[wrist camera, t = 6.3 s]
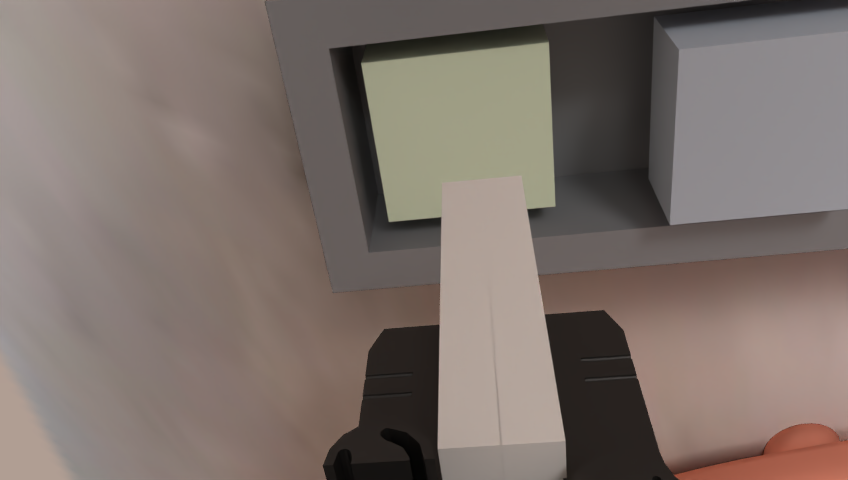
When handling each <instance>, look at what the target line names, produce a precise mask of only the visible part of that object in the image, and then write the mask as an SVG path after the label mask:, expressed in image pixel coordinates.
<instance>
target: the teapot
mask: <svg viewBox="0 0 848 480" xmlns="http://www.w3.org/2000/svg"><path fill="white" fill-rule="evenodd" d="M674 476H675V477H676V478H678V479H679V480H848V440H847V441H840V439H839V436H838V435H837V434H836V432H835V431H833V430H832V429H831V428H829V427H827V426H824V425H820V424H812V423H811V424H800V425H795V426H792V427H789V428H786V429H784V430H782V431H780V432H779V433H777V434H776V435H775V436H773V437H772V438H771V439H770V440H769V442H768V443H767V444H766V446H765V448H764V453H763V455H761V456H756V457H750V458H745V459H740V460H735V461H730V462H726V463H721V464H717V465H712V466H708V467H704V468H700V469H696V470H692V471H687V472H684V473H680V474H676V475H674Z"/></svg>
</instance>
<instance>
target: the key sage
mask: <svg viewBox="0 0 848 480" xmlns="http://www.w3.org/2000/svg"><path fill="white" fill-rule="evenodd" d="M361 65H362V71H363V77H364V83H365V88H366V94H367V100H368V105H369V111H370V117H371V123H372V128H373V134H374V140H375V145H376V151H377V157H378V163H379V168H380V174H381V180H382V185H383V191H384V197H385V203H386V208H387V214H388V220H389V222H395V221H405V220H416V219H427V218H438V217H442V183H445V182H456V181H467V180H477V179H488V178H499V177H510V176H522V182H523V188H524V194H525V200H526V206H527V209H534V208H545V207H555V183H554V158H553V132H552V107H551V82H550V57H549V41H548V38H547V35H546V32H545V29H544V26H543V24H538V25H530V26H521V27H512V28H504V29H495V30H486V31H477V32H469V33H460V34H451V35H443V36H434V37H425V38H416V39H408V40H399V41H390V42H382V43H373V44H366V48H365V51H364V55H363V59H362V62H361Z"/></svg>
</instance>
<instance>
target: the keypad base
mask: <svg viewBox="0 0 848 480" xmlns="http://www.w3.org/2000/svg"><path fill="white" fill-rule="evenodd" d="M784 1H792V0H266V1H265V5H266V9H267V13H268V18H269V22H270V26H271V30H272V35H273V39H274V43H275V47H276V52H277V56H278V60H279V65H280V69H281V73H282V77H283V82H284V86H285V90H286V95H287V99H288V103H289V107H290V112H291V116H292V120H293V124H294V129H295V133H296V137H297V142H298V146H299V150H300V154H301V159H302V163H303V167H304V171H305V176H306V180H307V184H308V189H309V193H310V197H311V201H312V206H313V210H314V214H315V218H316V223H317V227H318V231H319V236H320V240H321V244H322V248H323V253H324V257H325V261H326V266H327V270H328V274H329V278H330V283H331V287H332V291H333V293H337V292H348V291H360V290H372V289H383V288H395V287H407V286H418V285H430V284H440V277H441V217H438V218H427V219H416V220H405V221H395V222H389V220H388V214H387V208H386V203H385V197H384V191H383V185H382V180H381V174H380V168H379V163H378V157H377V151H376V145H375V140H374V134H373V128H372V123H371V117H370V111H369V105H368V100H367V94H366V88H365V83H364V77H363V71H362V65H361V62H362V59H363V55H364V51H365V48H366V44H373V43H382V42H390V41H399V40H408V39H416V38H425V37H434V36H443V35H451V34H460V33H469V32H477V31H486V30H495V29H504V28H512V27H521V26H530V25H538V24H543V26H544V29H545V32H546V35H547V38H548V41H549V57H550V82H551V107H552V132H553V158H554V183H555V207H545V208H534V209H527V212H528V218H529V224H530V230H531V236H532V242H533V248H534V254H535V260H536V266H537V272H538V275H547V274H559V273H570V272H582V271H594V270H605V269H617V268H629V267H640V266H652V265H664V264H675V263H687V262H699V261H710V260H722V259H734V258H745V257H757V256H769V255H780V254H792V253H804V252H815V251H827V250H839V249H848V209H843V210H832V211H821V212H810V213H799V214H788V215H777V216H766V217H755V218H744V219H732V220H721V221H710V222H699V223H688V224H677V225H670V224H669V222H668V220H667V218H666V216H665V213H664V211H663V209H662V207H661V205H660V203H659V200H658V198H657V196H656V194H655V192H654V190H653V187H652V185H651V183H650V181H649V179H648V176H649V147H650V118H651V88H652V59H653V30H654V16H661V15H670V14H678V13H687V12H696V11H705V10H714V9H722V8H731V7H740V6H749V5H757V4H766V3H775V2H784Z"/></svg>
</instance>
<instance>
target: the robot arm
mask: <svg viewBox="0 0 848 480" xmlns="http://www.w3.org/2000/svg"><path fill="white" fill-rule="evenodd" d="M323 468H324V472H325V475H326V479H327V480H679V479H678V478H676V477H675V476H674V475H673V473H672V472H671V471H670V470H669V469H668V467H667V466H666V465H665V463H664V461H663V459H662V456H661V454H660V452H659V449H658V445H657V442H656V439H655V435H654V432H653V428H652V425H651V422H650V418H649V415H648V412H647V408H646V405H645V401H644V398H643V395H642V391H641V388H640V385H639V381H638V379H637V376H636V371H635V368H634V364H633V361H632V359H631V354H630V351H629V347H628V344H627V341H626V337H625V334H624V331H623V329H622V328H621V327H620V326H619V325H618V324H617V323H616V322H615V321H614V320H613V319H612V318H611V317H610V316H609V315H608V314H607V313H606V312H605V311H604V310H600V311H587V312H574V313H561V314H548V315H545V314H544V308H543V302H542V296H541V290H540V284H539V278H538V272H537V266H536V260H535V254H534V248H533V242H532V236H531V230H530V224H529V218H528V212H527V206H526V200H525V194H524V188H523V182H522V176H510V177H499V178H488V179H477V180H467V181H456V182H445V183H442V217H441V277H440V325H430V326H417V327H404V328H391V329H384V330H383V331H382V333H381V334H380V336H379V337H378V339H377V340H376V341H375V343H374V344H373V346H372V347H371V349H370V350H369V353H368V360H367V368H366V380H365V383H364V390H363V400H362V406H361V413H360V421H359V427H357V428H355V429H353V430H352V431H350V432H348V433H346V434H344V435H343V436H342V437H341V438H340V439H339V440H338V441H337V442H336V443H335V444H334V445H333V446H332V447H331V448H330V450H329V452H328V455H327V457H326V459H325V462H324V464H323Z"/></svg>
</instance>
